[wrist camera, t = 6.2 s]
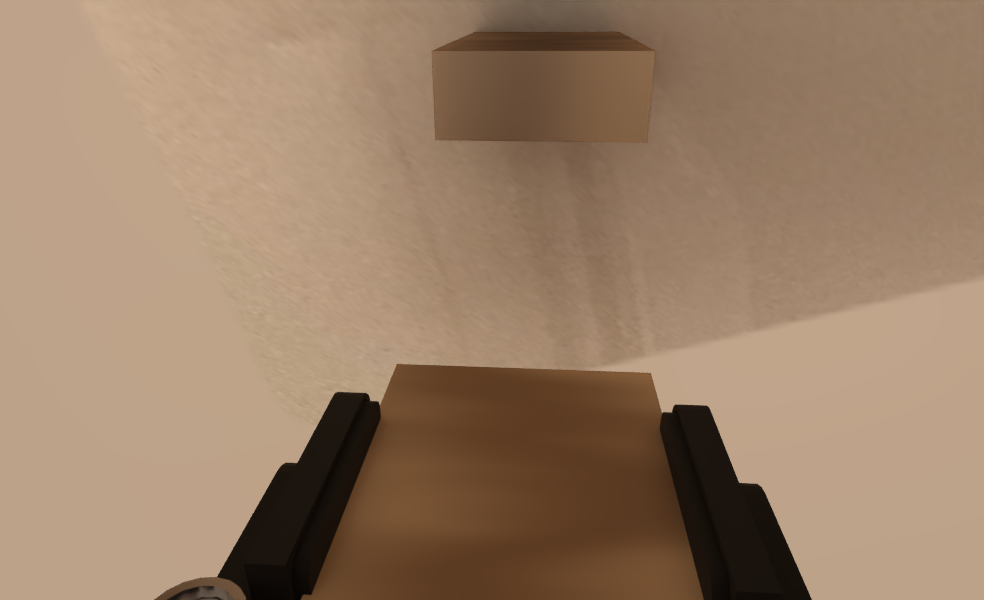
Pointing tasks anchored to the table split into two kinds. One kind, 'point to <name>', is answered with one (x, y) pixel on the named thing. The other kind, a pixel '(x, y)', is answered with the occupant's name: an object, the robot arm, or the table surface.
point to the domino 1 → (543, 87)
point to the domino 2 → (513, 492)
